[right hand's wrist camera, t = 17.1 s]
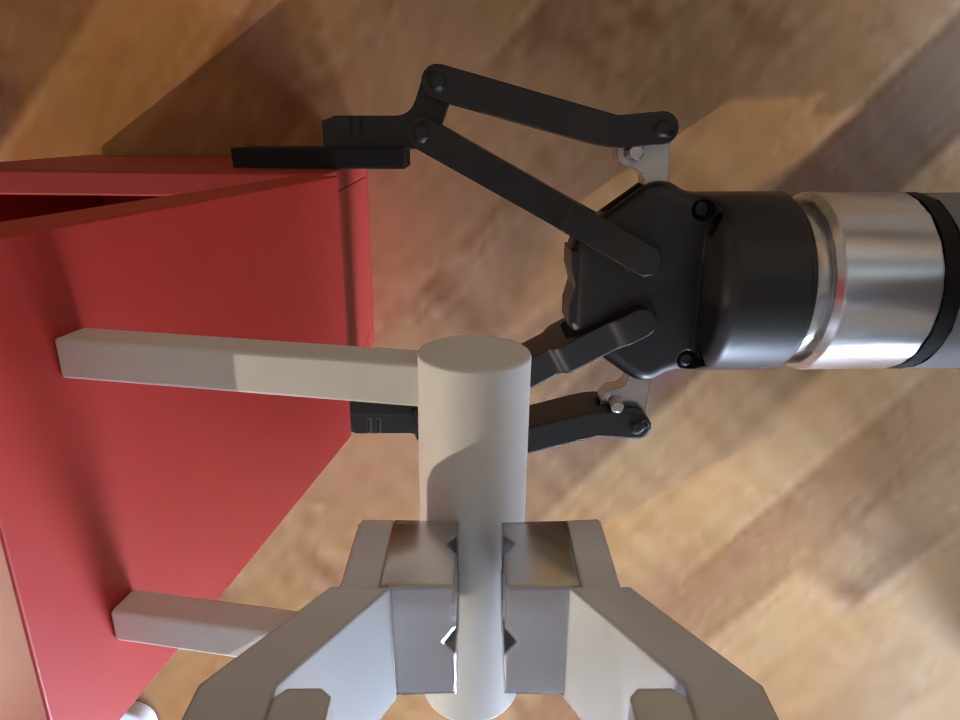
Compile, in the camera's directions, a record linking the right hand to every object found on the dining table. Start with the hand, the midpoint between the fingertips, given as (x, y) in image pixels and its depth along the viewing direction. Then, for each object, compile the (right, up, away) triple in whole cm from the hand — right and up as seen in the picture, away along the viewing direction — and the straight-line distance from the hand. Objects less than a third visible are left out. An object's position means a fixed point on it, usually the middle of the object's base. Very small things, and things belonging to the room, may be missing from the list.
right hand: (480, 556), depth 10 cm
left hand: (-9, +6, +18) cm, 21 cm away
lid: (-7, +2, +7) cm, 10 cm away
